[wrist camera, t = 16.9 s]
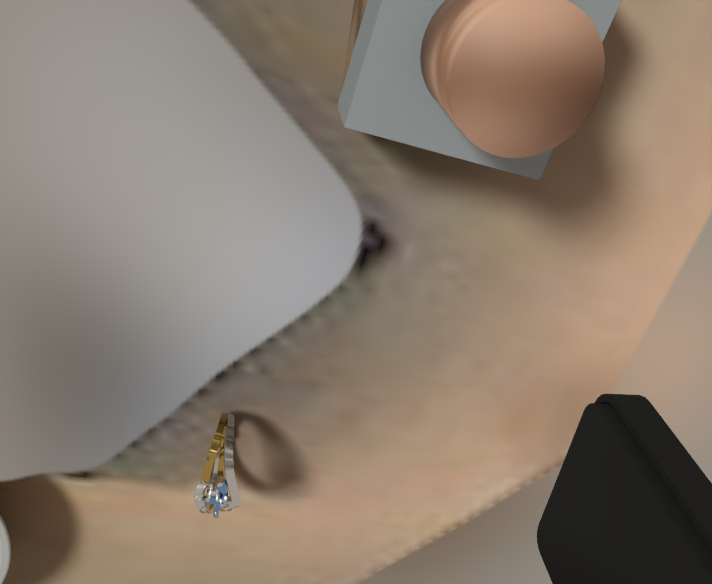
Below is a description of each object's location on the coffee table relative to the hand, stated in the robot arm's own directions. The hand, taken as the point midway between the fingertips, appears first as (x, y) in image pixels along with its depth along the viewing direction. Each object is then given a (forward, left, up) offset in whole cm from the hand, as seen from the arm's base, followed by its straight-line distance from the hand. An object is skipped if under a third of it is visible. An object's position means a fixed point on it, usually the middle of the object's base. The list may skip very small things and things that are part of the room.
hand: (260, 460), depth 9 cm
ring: (+29, -1, -33) cm, 44 cm away
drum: (-2, +10, -25) cm, 27 cm away
